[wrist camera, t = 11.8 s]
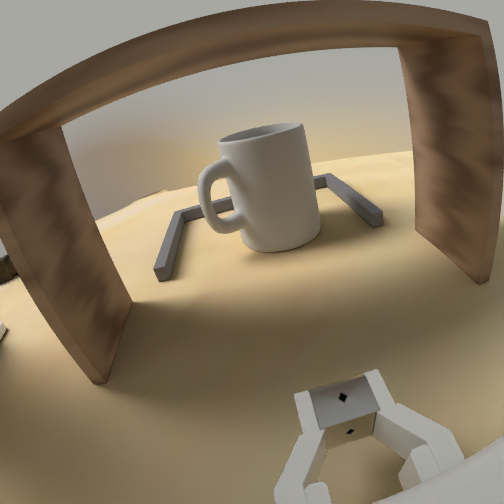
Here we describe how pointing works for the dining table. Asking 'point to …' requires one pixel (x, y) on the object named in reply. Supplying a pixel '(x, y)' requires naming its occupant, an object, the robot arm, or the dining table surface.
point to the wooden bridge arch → (230, 52)
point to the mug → (265, 188)
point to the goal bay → (179, 217)
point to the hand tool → (6, 269)
